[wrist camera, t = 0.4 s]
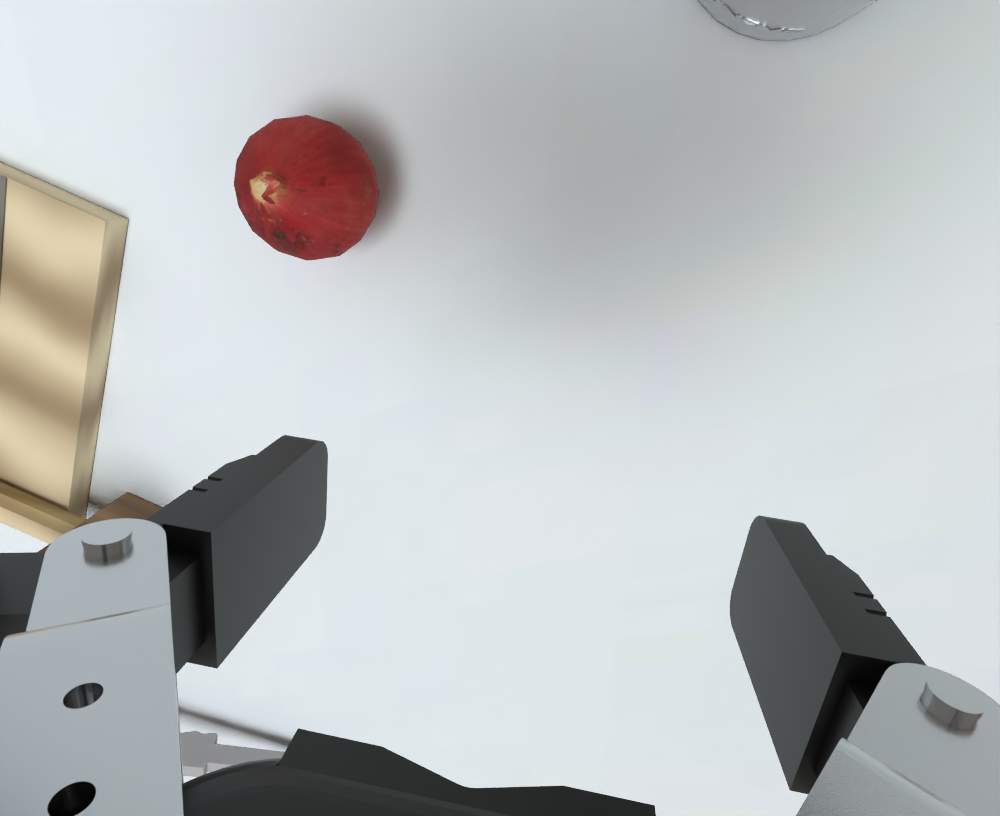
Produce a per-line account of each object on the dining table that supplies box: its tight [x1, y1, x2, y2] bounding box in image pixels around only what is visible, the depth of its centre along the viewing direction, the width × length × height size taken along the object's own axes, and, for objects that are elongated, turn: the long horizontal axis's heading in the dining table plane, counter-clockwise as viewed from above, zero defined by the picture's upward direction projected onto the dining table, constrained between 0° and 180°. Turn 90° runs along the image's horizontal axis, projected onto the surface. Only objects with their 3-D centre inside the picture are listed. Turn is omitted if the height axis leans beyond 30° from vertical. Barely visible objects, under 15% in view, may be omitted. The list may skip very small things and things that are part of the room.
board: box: [0, 162, 129, 544], centre depth 35 cm, size 22×8×2 cm, turn 158°
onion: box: [234, 115, 379, 260], centre depth 26 cm, size 6×6×8 cm
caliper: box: [180, 731, 285, 777], centre depth 42 cm, size 20×1×6 cm, turn 78°
